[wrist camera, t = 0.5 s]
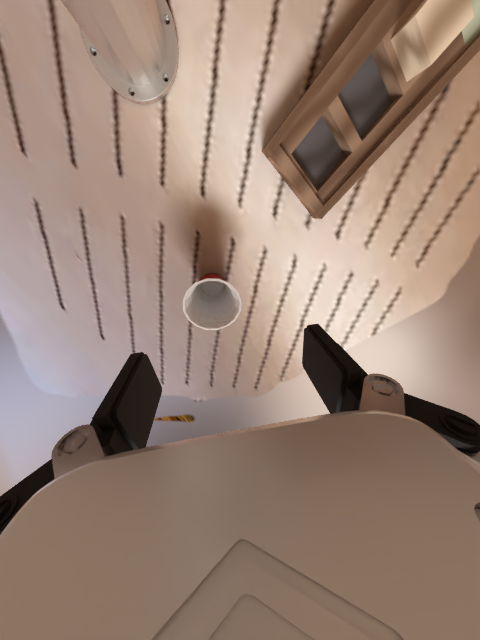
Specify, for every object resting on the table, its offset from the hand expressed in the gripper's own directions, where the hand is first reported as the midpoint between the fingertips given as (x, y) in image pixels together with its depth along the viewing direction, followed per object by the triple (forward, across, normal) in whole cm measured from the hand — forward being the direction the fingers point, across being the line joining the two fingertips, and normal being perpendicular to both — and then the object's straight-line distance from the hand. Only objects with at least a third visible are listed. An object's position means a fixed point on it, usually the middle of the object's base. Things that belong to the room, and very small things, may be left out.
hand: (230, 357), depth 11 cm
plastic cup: (+36, +2, +7) cm, 36 cm away
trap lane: (+35, -31, -24) cm, 53 cm away
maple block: (+33, -34, -27) cm, 55 cm away
